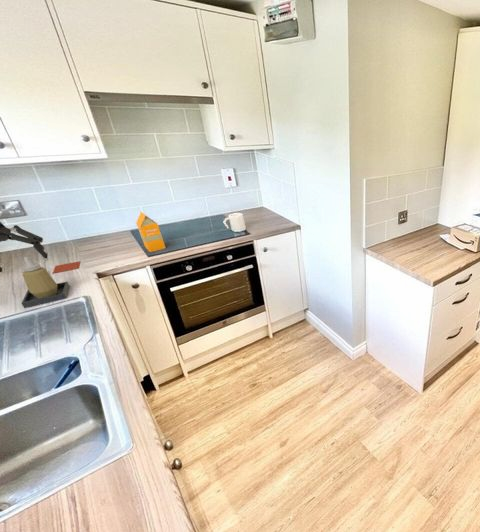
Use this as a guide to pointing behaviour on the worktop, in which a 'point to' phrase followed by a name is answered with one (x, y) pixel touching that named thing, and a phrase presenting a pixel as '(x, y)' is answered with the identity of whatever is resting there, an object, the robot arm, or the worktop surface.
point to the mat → (66, 267)
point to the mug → (236, 222)
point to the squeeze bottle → (38, 279)
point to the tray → (33, 301)
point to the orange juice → (150, 233)
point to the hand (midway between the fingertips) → (24, 263)
